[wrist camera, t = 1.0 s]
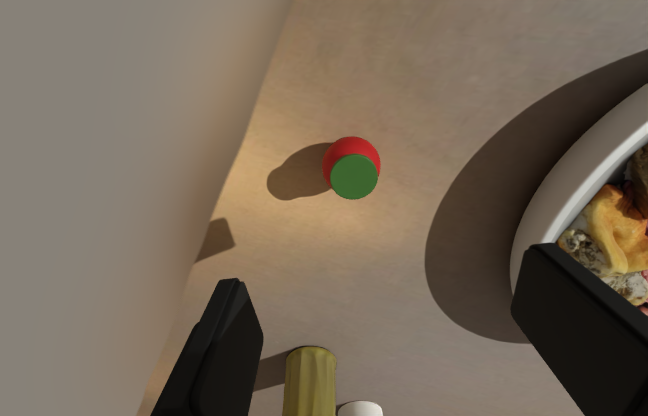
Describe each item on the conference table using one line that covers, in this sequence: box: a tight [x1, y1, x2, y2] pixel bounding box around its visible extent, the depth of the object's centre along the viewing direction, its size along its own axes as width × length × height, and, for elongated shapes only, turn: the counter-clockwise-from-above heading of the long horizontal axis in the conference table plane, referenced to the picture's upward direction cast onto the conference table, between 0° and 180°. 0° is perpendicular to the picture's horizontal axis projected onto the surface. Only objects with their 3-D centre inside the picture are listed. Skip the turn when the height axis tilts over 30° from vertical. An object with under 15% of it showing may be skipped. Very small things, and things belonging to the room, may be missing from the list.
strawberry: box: [322, 137, 380, 199], centre depth 19 cm, size 4×4×4 cm
